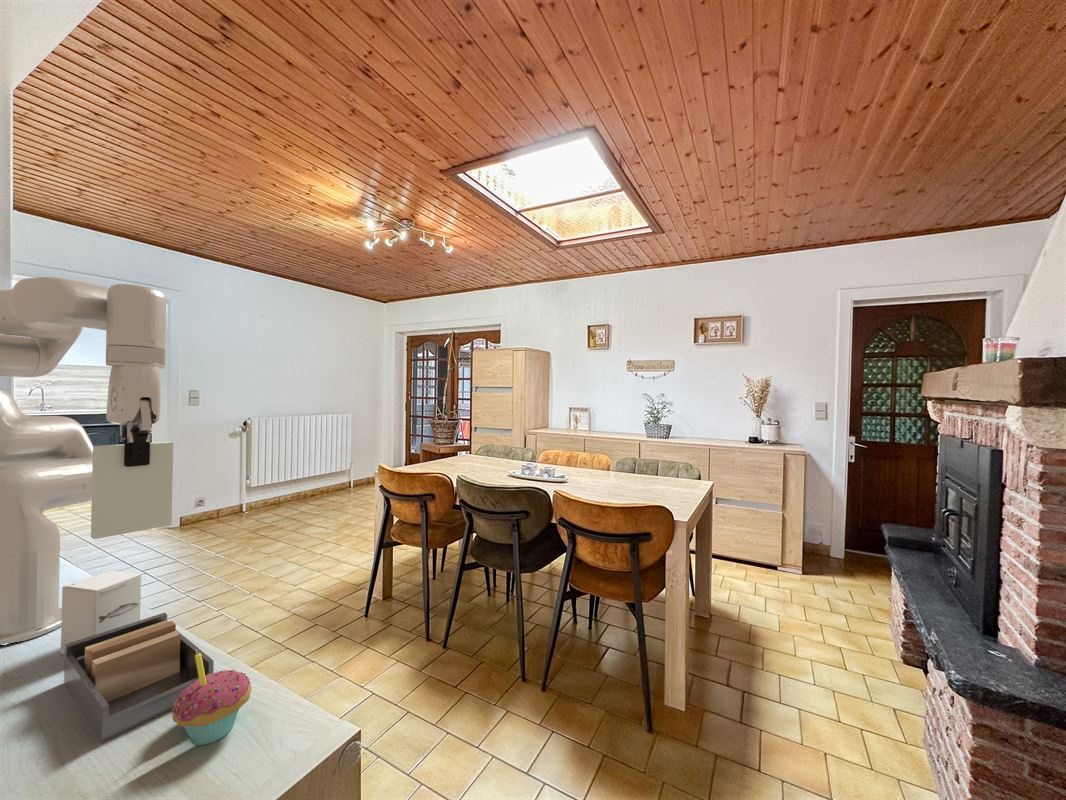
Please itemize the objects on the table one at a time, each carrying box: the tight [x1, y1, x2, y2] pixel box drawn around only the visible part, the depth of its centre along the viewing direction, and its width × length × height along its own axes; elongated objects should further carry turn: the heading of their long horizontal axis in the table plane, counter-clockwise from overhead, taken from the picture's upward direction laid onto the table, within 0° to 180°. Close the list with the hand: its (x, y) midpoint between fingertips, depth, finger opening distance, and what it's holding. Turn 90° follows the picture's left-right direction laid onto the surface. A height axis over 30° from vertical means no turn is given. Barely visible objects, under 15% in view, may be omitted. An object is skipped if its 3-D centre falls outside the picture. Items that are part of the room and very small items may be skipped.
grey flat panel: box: [90, 441, 174, 540], centre depth 74 cm, size 2×10×15 cm, turn 147°
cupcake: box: [171, 650, 252, 746], centre depth 58 cm, size 9×8×12 cm
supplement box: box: [60, 570, 142, 655], centre depth 75 cm, size 7×7×13 cm
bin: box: [63, 612, 215, 744], centre depth 65 cm, size 20×12×7 cm, turn 57°
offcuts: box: [85, 619, 180, 702], centre depth 66 cm, size 6×10×7 cm, turn 147°
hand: (134, 464), depth 74 cm, fingers closed on grey flat panel, 2 cm apart
